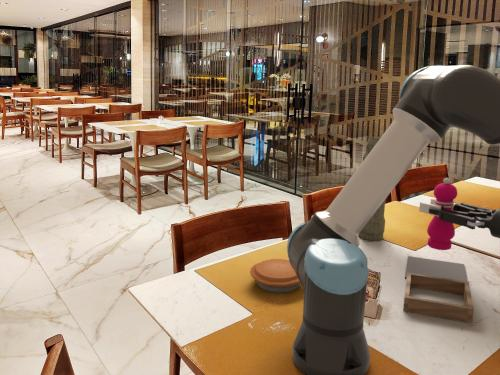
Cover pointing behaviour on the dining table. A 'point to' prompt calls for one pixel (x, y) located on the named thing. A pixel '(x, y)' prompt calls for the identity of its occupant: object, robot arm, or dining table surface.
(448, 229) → the pepper mill
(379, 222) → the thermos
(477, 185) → the dining table surface
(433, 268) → the grey square plate
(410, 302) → the walnut tray
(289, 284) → the pie
